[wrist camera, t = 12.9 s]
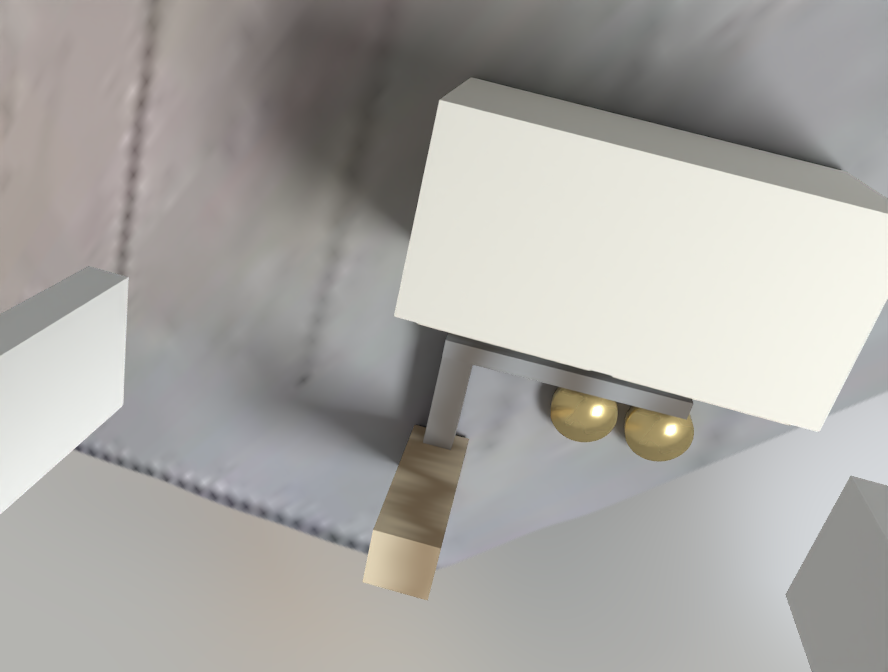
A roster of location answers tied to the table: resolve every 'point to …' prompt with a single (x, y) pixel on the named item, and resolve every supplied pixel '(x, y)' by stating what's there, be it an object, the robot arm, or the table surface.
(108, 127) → the table surface
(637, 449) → the gold domed disc
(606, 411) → the golden knob
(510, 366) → the hook
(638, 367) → the cabinet
